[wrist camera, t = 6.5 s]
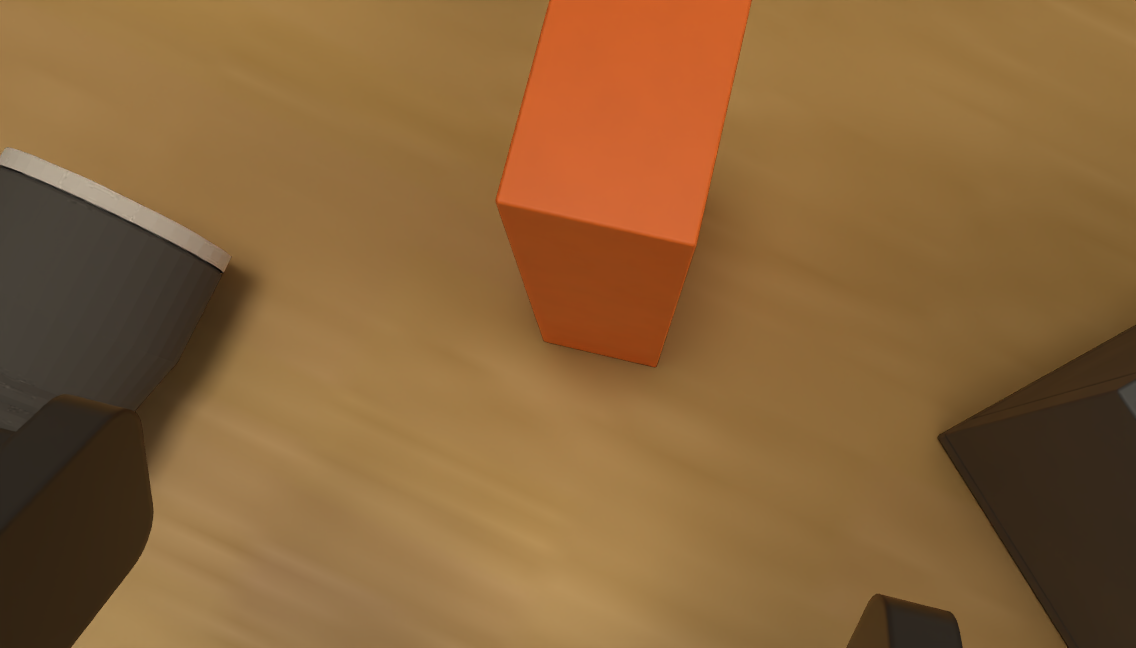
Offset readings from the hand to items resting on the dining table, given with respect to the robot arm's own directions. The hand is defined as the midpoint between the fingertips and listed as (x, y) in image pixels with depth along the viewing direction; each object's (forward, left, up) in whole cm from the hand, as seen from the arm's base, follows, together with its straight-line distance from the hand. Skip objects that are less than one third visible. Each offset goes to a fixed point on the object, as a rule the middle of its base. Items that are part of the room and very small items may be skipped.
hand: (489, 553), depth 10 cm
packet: (+5, +5, -14) cm, 15 cm away
